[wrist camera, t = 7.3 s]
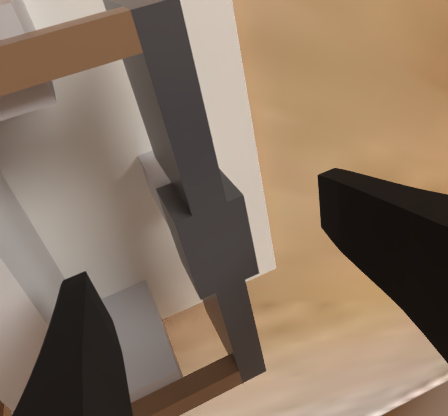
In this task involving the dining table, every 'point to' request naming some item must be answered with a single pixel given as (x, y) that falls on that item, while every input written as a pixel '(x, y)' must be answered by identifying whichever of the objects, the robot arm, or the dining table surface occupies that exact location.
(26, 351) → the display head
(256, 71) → the dining table surface
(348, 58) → the dining table surface
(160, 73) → the glasses
